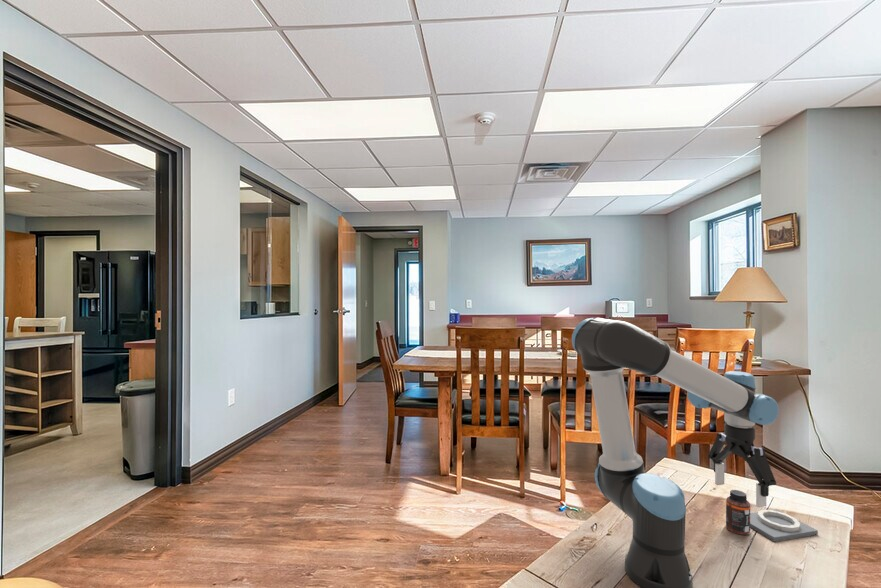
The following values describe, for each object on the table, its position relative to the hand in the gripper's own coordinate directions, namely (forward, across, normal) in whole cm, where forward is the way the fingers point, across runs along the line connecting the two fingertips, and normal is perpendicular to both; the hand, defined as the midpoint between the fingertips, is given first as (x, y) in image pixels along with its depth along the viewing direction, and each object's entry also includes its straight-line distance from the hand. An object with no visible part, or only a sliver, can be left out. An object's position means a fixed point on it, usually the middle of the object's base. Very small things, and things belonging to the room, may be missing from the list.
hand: (739, 494), depth 127 cm
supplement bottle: (+11, 0, +1) cm, 11 cm away
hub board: (+11, -1, -12) cm, 16 cm away
